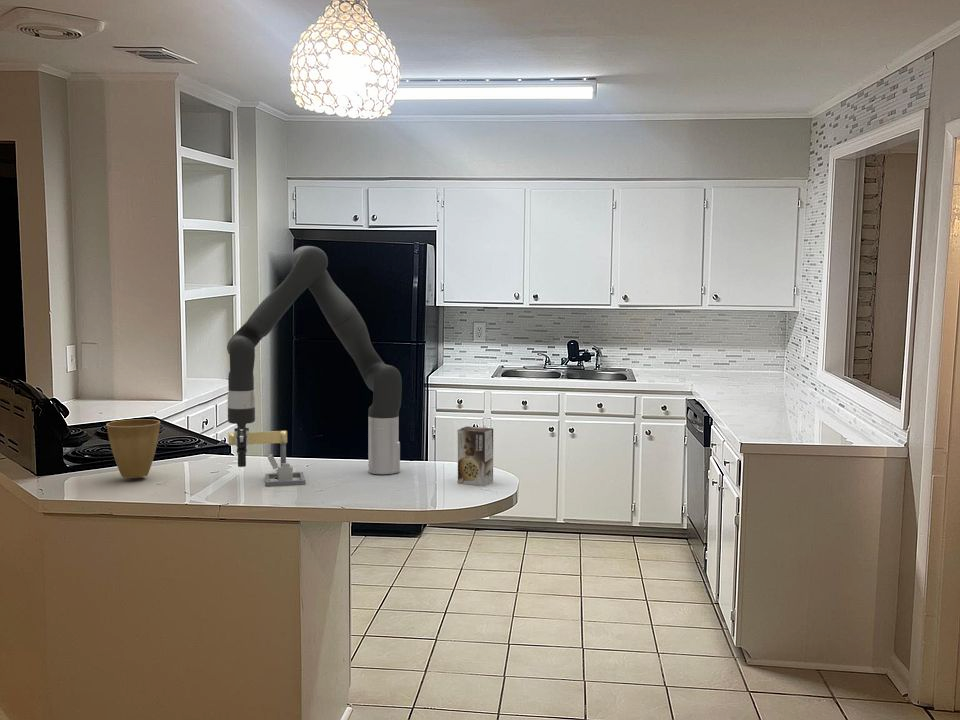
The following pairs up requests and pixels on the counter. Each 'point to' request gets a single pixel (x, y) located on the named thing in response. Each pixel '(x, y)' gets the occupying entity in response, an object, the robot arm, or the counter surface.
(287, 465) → the grey angled piece
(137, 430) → the plant pot
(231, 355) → the robot arm
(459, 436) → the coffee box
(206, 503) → the counter surface
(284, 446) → the switch
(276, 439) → the gold bar
